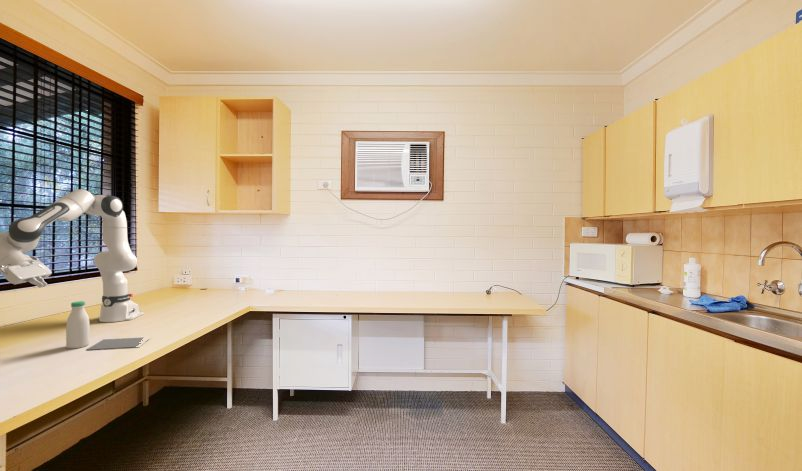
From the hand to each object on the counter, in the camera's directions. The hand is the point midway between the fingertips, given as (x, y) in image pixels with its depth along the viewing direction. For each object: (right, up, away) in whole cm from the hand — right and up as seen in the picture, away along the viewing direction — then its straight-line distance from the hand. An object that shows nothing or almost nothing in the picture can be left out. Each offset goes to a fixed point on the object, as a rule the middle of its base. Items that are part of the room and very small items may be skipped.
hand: (43, 286), depth 156 cm
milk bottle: (+11, -28, +4) cm, 30 cm away
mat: (+27, -28, +9) cm, 40 cm away
